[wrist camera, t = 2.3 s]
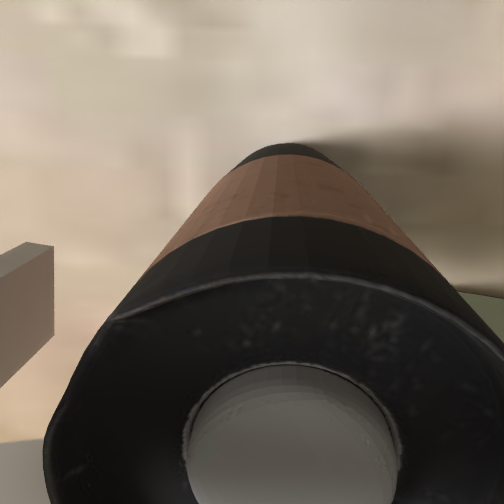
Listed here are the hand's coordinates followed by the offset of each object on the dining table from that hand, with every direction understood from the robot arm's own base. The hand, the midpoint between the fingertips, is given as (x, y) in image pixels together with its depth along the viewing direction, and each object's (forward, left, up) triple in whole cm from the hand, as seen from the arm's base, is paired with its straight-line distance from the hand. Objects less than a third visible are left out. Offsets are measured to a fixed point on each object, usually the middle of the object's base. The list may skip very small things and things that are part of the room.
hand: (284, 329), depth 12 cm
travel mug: (0, 0, -14) cm, 14 cm away
